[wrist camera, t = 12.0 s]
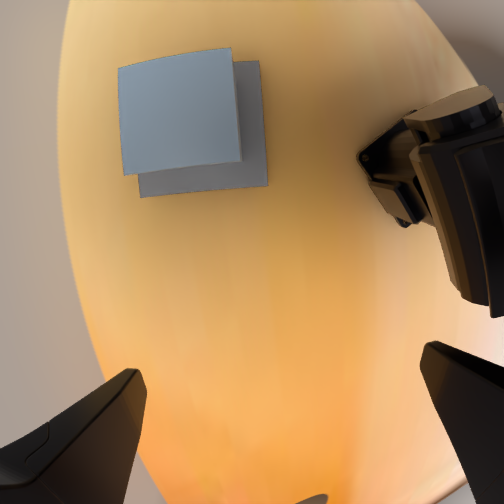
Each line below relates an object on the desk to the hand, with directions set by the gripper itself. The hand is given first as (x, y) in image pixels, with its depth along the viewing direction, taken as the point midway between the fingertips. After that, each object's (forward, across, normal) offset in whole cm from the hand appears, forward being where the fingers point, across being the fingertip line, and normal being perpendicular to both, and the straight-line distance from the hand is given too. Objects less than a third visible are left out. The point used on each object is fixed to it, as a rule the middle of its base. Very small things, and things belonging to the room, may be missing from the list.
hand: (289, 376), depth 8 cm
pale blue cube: (+12, +4, -8) cm, 15 cm away
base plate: (+13, +4, -8) cm, 16 cm away
